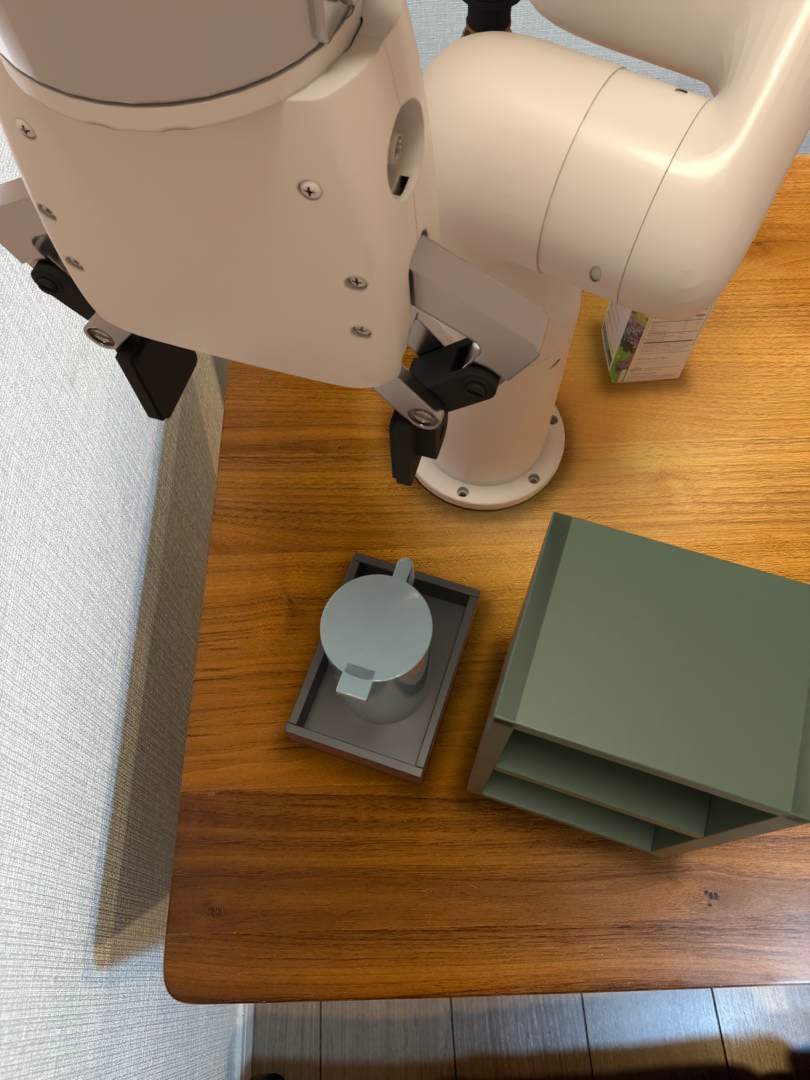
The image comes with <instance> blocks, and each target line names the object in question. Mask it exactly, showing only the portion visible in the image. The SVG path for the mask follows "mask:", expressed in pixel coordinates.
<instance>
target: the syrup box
mask: <svg viewBox="0 0 810 1080" xmlns="http://www.w3.org/2000/svg"><path fill="white" fill-rule="evenodd" d="M720 296H721V294H720V295H719V296H718V297H717V299H716V300H715V301H714V302H713V303H712V304H711V305H710V306H709V307H708V308H706V309H705V310H704V311H702V312H701V313H699V314H698V315H696V316H693V317H691V318H689V319H684V320H677V321H669V320H662V319H657V318H653V317H650V316H647V315H644V314H641V313H638V312H635V311H633V310H630V309H628V308H626V307H623V306H621V305H618V304H616V303H614V302H611V301H609V304H608V307H607V310H606V314H605V316H604V320H603V323H602V326H601V330H600V332H601V339H602V345H603V350H604V357H605V360H606V361H605V362H606V365H607V372H608V375H609V381H610V383H611V384H622V383H623V384H624V383H638V382H649V381H650V382H651V381H660V380H661V381H663V380H675V379H679V378H680V376H681V374H682V372H683V370H684V368H685V366H686V364H687V361H688V359H689V358H690V356H691V354H692V352H693V350H694V348H695V346H696V344H697V342H698V340H699V338H700V336H701V334H702V332H703V330H704V328H705V326H706V325H707V322H708V320H709V319H710V316H711V314H712V312H713V310H714V308H715V306H716V304H717V302H718V300H719V298H720Z"/></svg>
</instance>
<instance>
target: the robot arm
mask: <svg viewBox="0 0 810 1080" xmlns="http://www.w3.org/2000/svg"><path fill="white" fill-rule="evenodd" d="M529 3H531V5H532V6H533V8H534V9H535V11H536V12H538V13H539V14H540V15H541V16H542V17H543V18H544V19H546V20H547V21H548V22H550V23H551V24H553V25H554V26H555V27H557V28H560V29H561V30H563V31H565V32H567V33H569V34H570V35H573V36H575V37H577V38H580V39H582V40H584V41H587V42H589V43H592V44H595V45H597V46H600V47H603V48H605V49H608V50H610V51H614V52H616V53H619V54H622V55H625V56H627V57H631V58H632V59H633V58H634V59H637V60H640V61H643V62H645V63H648V64H651V65H654V66H657V67H660V68H663V69H665V70H669V71H671V72H675V73H677V74H680V75H683V76H684V77H685V76H686V77H689V78H691V79H694V80H697V81H700V82H702V83H704V84H706V85H707V87H708V88H709V89H710V92H711V95H712V98H711V97H708V96H705V95H702V94H700V93H696V92H693V91H690V90H687V89H685V88H682V87H679V86H676V85H674V84H670V83H668V82H665V81H662V80H659V79H656V78H653V77H650V76H648V75H644V74H641V73H639V72H636V71H633V70H630V69H628V68H627V67H626V66H623V65H620V64H617V63H614V62H612V61H608V60H606V59H603V58H600V57H597V56H594V55H592V54H588V53H585V52H582V51H580V50H576V49H574V48H571V47H568V46H565V45H563V44H560V43H557V42H554V41H551V40H547V39H543V38H540V37H537V36H532V35H530V34H524V33H519V32H518V33H517V32H513V31H512V32H513V33H512V32H504V31H488V32H479V33H474V34H470V35H468V36H465V37H462V38H461V37H460V38H458V39H456V40H454V41H452V42H451V43H450V44H448V45H446V46H445V47H443V48H442V49H441V50H440V51H439V52H438V53H437V54H436V55H435V56H434V58H433V59H432V60H431V61H430V62H429V63H428V65H427V66H426V68H425V69H424V71H423V70H422V64H421V60H420V53H419V49H418V44H417V41H416V35H415V31H414V27H413V22H412V19H411V13H410V10H409V6H408V3H407V0H0V128H1V129H2V133H3V135H4V138H5V140H6V143H7V146H8V148H9V151H10V154H11V156H12V158H13V161H14V163H15V165H16V168H17V170H18V172H19V175H20V177H17V178H15V179H11V180H8V181H6V182H3V183H0V245H1V246H2V247H3V248H4V249H5V250H6V251H8V252H9V254H11V255H12V256H13V257H14V258H15V259H16V260H17V261H18V262H19V263H21V264H22V265H24V264H28V265H29V267H31V269H32V270H31V272H30V277H31V279H32V281H33V282H34V284H35V285H37V287H38V289H39V290H40V291H42V292H43V293H44V294H46V295H49V296H51V297H53V298H54V299H55V300H57V301H59V302H60V303H61V304H63V305H64V306H66V307H67V308H69V309H70V310H72V311H73V312H75V314H77V315H79V316H81V317H82V318H83V319H85V320H86V322H85V324H84V326H83V328H82V329H83V330H82V331H83V333H84V334H85V336H86V337H87V338H88V339H89V340H90V341H91V342H93V343H94V344H95V345H97V346H99V347H101V348H104V349H107V350H115V352H116V354H115V356H114V358H115V360H116V362H117V364H118V365H119V367H120V369H121V371H122V372H123V375H124V376H125V378H126V379H127V382H128V383H129V385H130V387H131V389H132V391H133V393H134V394H135V396H136V398H137V399H138V402H139V403H140V405H141V407H142V409H143V410H144V413H145V414H146V416H147V417H148V418H150V419H153V420H158V421H160V422H164V421H165V420H166V419H168V420H169V419H170V418H171V417H172V415H173V413H174V412H175V409H176V407H177V405H178V403H179V401H180V399H181V397H182V395H183V393H184V391H185V389H186V387H187V385H188V383H189V381H190V380H191V377H192V375H193V373H194V371H195V369H196V367H197V364H198V361H199V360H198V355H197V353H202V354H205V355H210V356H214V357H218V358H220V359H221V358H222V359H225V360H229V361H234V362H238V363H240V364H246V365H249V366H253V367H258V368H261V369H266V370H270V371H274V372H279V373H282V374H286V375H290V376H295V377H298V378H304V379H307V380H312V381H315V382H320V383H325V384H329V385H335V386H338V387H344V388H351V389H372V391H374V392H376V393H377V394H378V395H379V397H381V398H382V399H383V400H384V401H385V402H386V403H387V404H389V406H391V407H392V408H393V409H394V410H393V412H392V414H391V418H390V421H389V424H388V437H389V448H390V449H389V451H390V464H391V477H392V479H394V480H396V483H397V484H399V485H403V486H407V487H412V485H413V483H414V480H415V478H416V479H417V480H418V481H419V483H421V485H422V486H423V487H424V488H425V489H427V490H428V491H429V492H431V494H433V495H434V496H435V497H438V498H440V499H441V500H443V501H445V502H447V503H449V504H452V505H455V506H458V507H460V508H466V509H471V510H477V511H486V510H487V511H489V510H491V511H494V510H500V509H506V508H511V507H514V506H516V505H518V504H521V503H524V502H526V501H528V500H529V499H531V498H533V497H534V496H536V495H537V494H539V492H541V491H542V490H543V489H544V488H545V487H546V486H547V485H548V484H549V483H550V481H551V480H552V478H553V477H554V475H555V474H556V473H557V472H558V471H557V470H558V468H559V466H560V464H561V461H562V458H563V453H564V450H565V443H566V442H565V441H566V433H565V427H564V422H563V418H562V416H561V413H560V411H559V409H558V407H557V405H556V402H557V398H558V394H559V391H560V386H561V382H562V379H563V375H564V372H565V367H566V364H567V361H568V356H569V352H570V349H571V344H572V341H573V339H574V338H573V337H574V333H575V331H576V325H577V323H578V319H579V315H580V310H581V306H582V300H583V299H582V298H583V291H585V292H587V293H590V294H592V295H594V296H597V297H599V298H602V299H603V300H606V301H609V302H610V301H611V302H614V303H616V304H618V305H621V306H623V307H626V308H628V309H630V310H633V311H635V312H638V313H641V314H644V315H647V316H650V317H653V318H657V319H662V320H669V321H677V320H684V319H689V318H691V317H693V316H696V315H698V314H699V313H701V312H702V311H704V310H705V309H706V308H708V307H709V306H710V305H711V304H712V303H713V302H714V301H715V300H716V299H717V297H718V296H719V295H720V296H721V294H722V292H723V291H724V290H725V288H726V287H727V286H728V285H729V283H730V282H731V280H732V279H733V277H734V275H735V274H736V272H737V270H738V268H739V267H740V265H741V264H742V262H743V261H744V258H745V256H746V254H747V253H748V251H749V249H750V247H751V245H752V244H753V242H754V240H755V238H756V236H757V234H758V232H759V230H760V228H761V226H762V225H763V222H764V221H765V219H766V217H767V215H768V213H769V210H770V208H771V207H772V205H773V203H774V201H775V199H776V196H777V194H778V193H779V190H780V188H781V187H782V184H783V182H784V180H785V179H786V177H787V176H788V175H787V174H788V172H789V171H790V169H791V166H792V164H793V163H794V161H795V160H796V157H797V155H798V153H799V151H800V149H801V147H802V145H803V143H804V141H805V139H806V137H807V135H808V133H809V131H810V0H529ZM720 296H719V297H720ZM407 347H408V348H409V349H410V350H411V351H412V352H413V353H414V354H415V355H416V356H417V357H416V356H414V357H413V359H412V361H411V364H410V366H409V369H408V368H407V367H406V366H405V365H404V364H403V357H404V355H405V353H406V351H407Z"/></svg>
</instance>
